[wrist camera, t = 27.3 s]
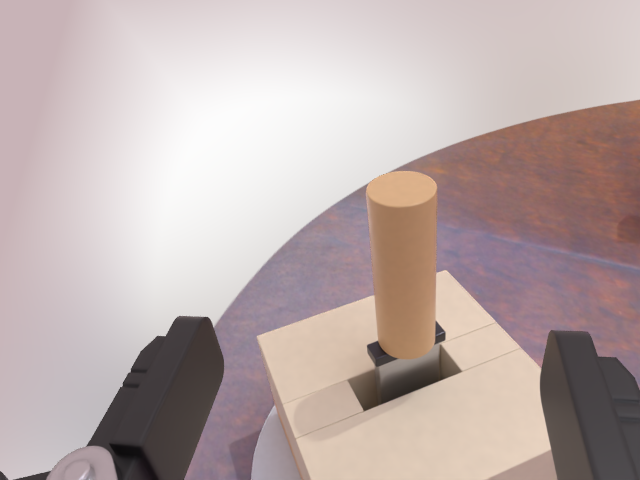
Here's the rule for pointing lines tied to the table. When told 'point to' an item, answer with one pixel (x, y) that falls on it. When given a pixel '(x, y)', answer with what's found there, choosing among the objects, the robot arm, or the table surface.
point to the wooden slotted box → (408, 399)
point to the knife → (404, 282)
